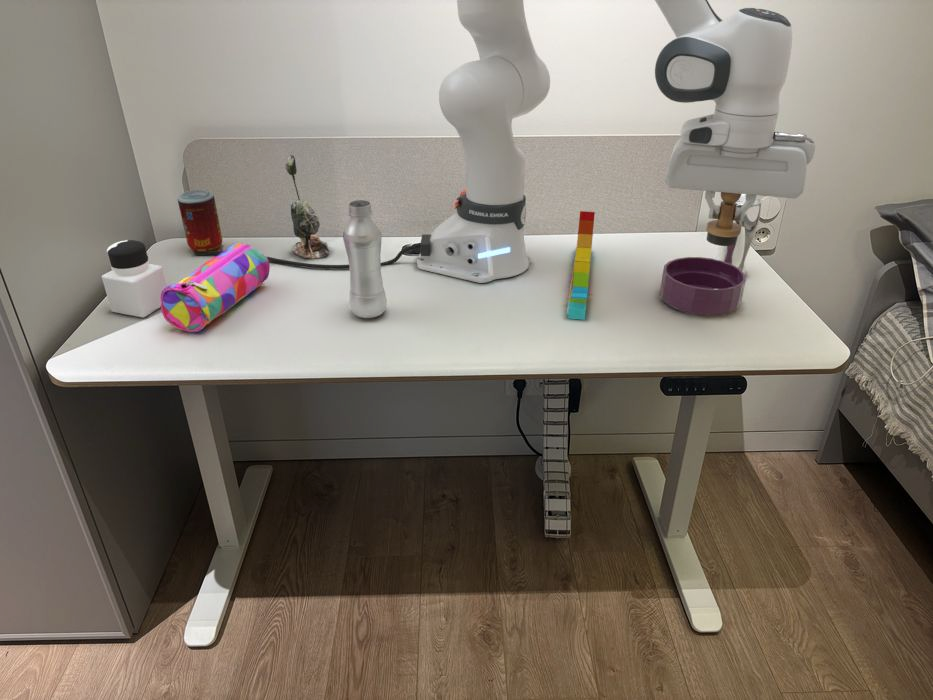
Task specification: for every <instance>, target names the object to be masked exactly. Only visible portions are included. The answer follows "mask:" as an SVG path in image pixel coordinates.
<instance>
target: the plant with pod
mask: <svg viewBox="0 0 933 700" xmlns="http://www.w3.org/2000/svg"><path fill="white" fill-rule="evenodd" d="M284 166H285V170H286V172H287V174H288V175H289V176H291V178H292V180H293V184H294V187H295V191H296V192H295V193H296V195H297V200H296V201H294V202H292V203H291V204H290V216H291V221H292V224H293V226H292V227H293V234H294V236H295V237H297V238H299V239H300V241H297V242H295V246H294V248H292V251H291V252H292V253H295V254H296V255H297V256H299V257H300V258H302V259H307V260H308V259H309V260H314V259H319V258H324V257H326V256H328V255H329V254H330V251H331V250H330V248H331V247H330V246H329V244H328V243H327V242H325V241H323V240H321V239H320V237H319V235H317V233H318V232H319V229H320V226H321V223H320V218H319V217H318V214H317V213H316V211H315V210H314V208H313V207H312V206H311V205H310V204H309V203H308V202H307V201H306V200H301V199H300V195H299V190H298V187H297V184H296V178H295V177H296V176H295V175H296V174H297V170H298V169H297V163H296V158H295V156H294V155H292V154H289V155H288V158H287V159H286V162H285V165H284Z"/></svg>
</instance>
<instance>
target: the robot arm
mask: <svg viewBox="0 0 933 700" xmlns="http://www.w3.org/2000/svg"><path fill="white" fill-rule="evenodd" d="M654 2H655V3H656V5H657V6H658V8H659V11H660V12H661V13H662V15H663V17H664V18H665V20H666V22H667V24H668V25H669V27H670V28H671V31H672V32H673V34H674V36H675V37H676V38H674V39H672V40H671V41H669V42H668V43H667V44H666V45H665V46H664V47H662V49H661V51H660V52H659V54H658V55H657V59H656V62H655V66H654V77H655V82H656V85H657V87H658V89H659V91H660V92H661V94H663V96H664V97H666V98H667V99H669V100H670V101H672V102H676V103H682V104H690V103H697V102H705V101H713V102H714V103H715V107H714V113H712V114H708V115H704V116H703V115H702V116H699V117H696V118H691V119H687V120H686V121H684V123H683V124H682V126H681V129H680V138H679V139H678V140H677V141H676V142H675V144H674V146H673V149H672V152H671V155H670V158H669V160H668V165H667V168H666V169H667V170H666V174H665V179H664V181H665V184H666V185H667V187H668V188H670V189H680V190H691V191H702V192H705V193H704V198H705V201H706V204H707V205H708V207H709V212H708V219H713V220H718V217H719V212H720V205H718V204H717V205H716V204H715V201H714V200H713V199H715V196H716V193H721V192H725V193H736V194H746V202H745V203H744V204H743V205H742V207H736V210H735V216H734V221H742V222H743V220H744V216H745V211H747V210H748V209H749V208H750V207H751V206H752V205H753V204H754V203H755V200H756V197H757V196H759V197H762V196H763V197H773V198H784V199H798V198H799V197H800V196H801V195H802V194H803V193H804V189H805V185H806V180H807V179H806V178H807V167H808V165H809V164H810V163H811V161H812V160H813V158H814V155H815V150H816V144H815V142H814V140H813V139H812V138H810V137H808V135H807V134H805V133H804V134H803V133H789V132H779V131H775V130H776V127H777V121H778V117H779V112H780V94H781V90H782V89H783V87H784V85H785V83H786V80H787V75H788V71H789V65H790V60H791V54H792V53H791V52H792V45H793V26H792V24H791V22H790V20H789V19H788V18H787V17H786V16H784V15H782V14H780V13H778V12H776V11H772V10H768V9H764V8H755V7H743V8H740V9H738V10H736V12H735V13H733V14H732V15H731V16H729V17H727V18H725V19H722V18H720V17H719V16H718V14H717V13H716V12H715V10H714V9H713V7H712V6H711V4H710V2H709V0H654ZM524 3H525V2H524V0H456V4H457V16H458V19H459V22H460V24H461V26H462V27H463V28H464V29H465V30H466V31H467V32H468V33H469V35H470V36H471V37H472V39H473V42H474V44H475V47H476V50H477V53H478V57H479V59H478V60H473V61H472V60H471V61H469V62H466V63H464V64H462V65H460V66H459V67H457V68H455V69H454V70H452V71H451V72H449V73H448V74H447V75H445V77H444V78H443V79H442V82H441V83H440V87H439V90H438V102H439V103H438V104H439V107H440V110H441V113H442V115H443V117H444V118H445V119H446V121H447V122H448V123H449V124H450V125H451V126H453V127H454V128H455V130H456V132H457V134H458V136H459V139H460V142H461V147H462V149H463V152H464V153H463V154H464V162H465V188H464V189H463V190H462V191H461V192H460V193H459V195H458V197H457V198H456V201H455V202H454V207H453V208H454V210H456V212H455V213H453V214H452V215H451V216H449V217H448V218H446V219H445V220H444V221H442V222H441V223H440V224H438V225H437V226H436V227H435V228H434V230H433V231H432V233H431V234H429V233H428V234H421V238H420V242H419V243H416V244H412V245H409V246H406V247H404V248H403V249H401V250H399V252H398V253H397V255H396V256H395V257H394V258H392V259H389V260H387V261H383V262H381V263H380V265H381V267H383V266H384V267H385V266H390V265H392V264H394V263H397V262H398V261H399V260H400V259H401V257H402V256H403V255H404V254H405V253H407V252H409V251H413V250H415V249H419V248H420V249H419V250H420V253H419V254H418V256H417V260H416V267H417V268H418V269H420V270H422V271H427V272H432V273H435V274H439V275H444V276H449V277H453V278H456V279H460V280H466V281H470V282H473V283H479V284H485V283H490V282H492V281H495V280H500V279H508V278H511V277H516V276H518V275H521V274H523V273H524V272H526V271H527V270H528V269H529V268H530V262H529V258H528V254H527V247H526V241H525V230H524V229H525V225H526V224H525V223H526V218H527V203H526V202H527V201H526V200H527V198H526V194H525V172H526V157H525V153H523V151H522V149H521V148H519V147H518V146H517V145H516V142H515V137H514V134H513V128H512V125H513V124H512V123H513V119H515V118H519V117H521V116H525V115H527V114H529V113H531V112H532V111H533V110H535V109H536V108H537V107H538V106H539V105H540V104H541V103H543V102H544V100H545V99H546V98H547V96H548V94H549V91H550V88H551V87H550V86H551V76H550V71H549V69H548V67H547V64H545V62H544V61H543V60H542V58H541V57H539V55H538V54H537V52H536V49H535V47H534V43H533V40H532V37H531V34H530V30H529V26H528V23H527V19H526V14H525V13H526V12H525V5H524ZM223 251H224V250H219V251H195V254H194V255H197V254H208V255H219V254H220V253H222V252H223ZM265 256H266V255H265ZM266 257H267V259H268V261H269V262H273V263H278V264H283V265H288V266H296V267H302V268H312V269H326V270H327V269H328V270H330V269H331V270H343V269H350V268H349V264H322V263H321V264H320V263H319V264H317V263H307V262H301V261H300V262H299V261H293V260H287V259H281V258H277V257H271V256H266Z"/></svg>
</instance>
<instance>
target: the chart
mask: <svg viewBox="0 0 933 700" xmlns="http://www.w3.org/2000/svg"><path fill="white" fill-rule="evenodd" d="M595 214H596V212H595V211H585V210H584V211H583V210H580V211H579V218H578V230H577V241H576V246H575V251H574V258H573V264H572V272H571V279H570V285H569V287H570V288H569V294H568V300H567V307H566V315H567V319H570V320H581V321H585V320H586V314H587V313H586V311H587V301H588V290H589V279H590V269H591V260H592V249H593V248H592V247H593V236H594V223H595Z"/></svg>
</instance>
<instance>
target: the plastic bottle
mask: <svg viewBox="0 0 933 700" xmlns="http://www.w3.org/2000/svg"><path fill="white" fill-rule="evenodd" d="M372 215H373V210H372V203H371V201H369V200H365V199H356V200H352V201H350V202H349V203H348V216H349V217H350V218H349V219H348V221H347V223H346V225H345V227H344V229H343V231H342V233H343V234H342V239H343V243H344V248H345V252H346V255H347V261H348V265H349V268H348V269H349V295H348V296H349V297H348V299H349V300H348V302H349V306H350V310H351V312H352V313H353V314H354V315H355V316H357V317H359V318H362V319H371V318H372V319H373V318H376V317H377V318H378V317H379V316H381V315H382V314H384V312H385V310H386V308H387V302H388V299H387V295H386V290H385V288H384V282H383V276H382V269H381V268H382V266H381V265H380V263H382V262H381V261H382V260H381V254H382V253H381V251H382V231H381V228H380V227H379V225H378V224H377V222H376V221H375V219H373V218H372Z"/></svg>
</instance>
